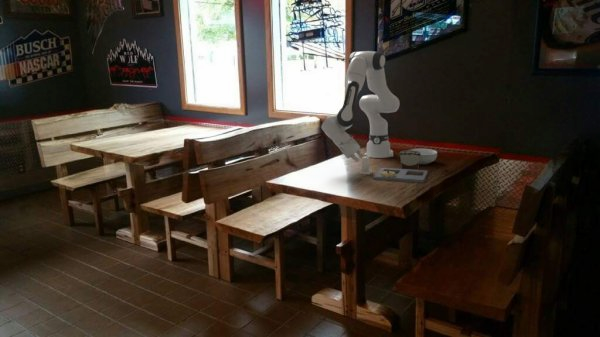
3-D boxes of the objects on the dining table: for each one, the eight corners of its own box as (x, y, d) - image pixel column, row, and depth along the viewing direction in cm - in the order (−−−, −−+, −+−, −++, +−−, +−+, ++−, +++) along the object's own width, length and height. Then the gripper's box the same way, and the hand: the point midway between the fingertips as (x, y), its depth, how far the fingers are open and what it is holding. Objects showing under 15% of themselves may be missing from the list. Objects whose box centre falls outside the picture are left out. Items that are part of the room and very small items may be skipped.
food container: (421, 167, 285) (421, 150, 282) (420, 169, 279) (421, 152, 276) (399, 166, 288) (399, 149, 285) (398, 169, 282) (399, 152, 280)
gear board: (381, 170, 280) (381, 161, 279) (427, 173, 271) (428, 164, 270) (373, 179, 262) (373, 170, 261) (423, 182, 253) (423, 173, 252)
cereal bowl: (406, 165, 290) (406, 153, 288) (409, 159, 305) (409, 148, 304) (436, 166, 285) (436, 154, 283) (437, 160, 300) (437, 149, 299)
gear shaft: (360, 170, 280) (360, 155, 278) (373, 171, 278) (373, 156, 275) (357, 174, 274) (357, 158, 271) (370, 175, 271) (370, 159, 269)
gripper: (342, 140, 265) (359, 159, 264) (352, 134, 284) (368, 151, 282) (334, 148, 268) (351, 167, 267) (344, 141, 286) (360, 159, 285)
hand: (360, 159), depth 275 cm, fingers open, 8 cm apart
